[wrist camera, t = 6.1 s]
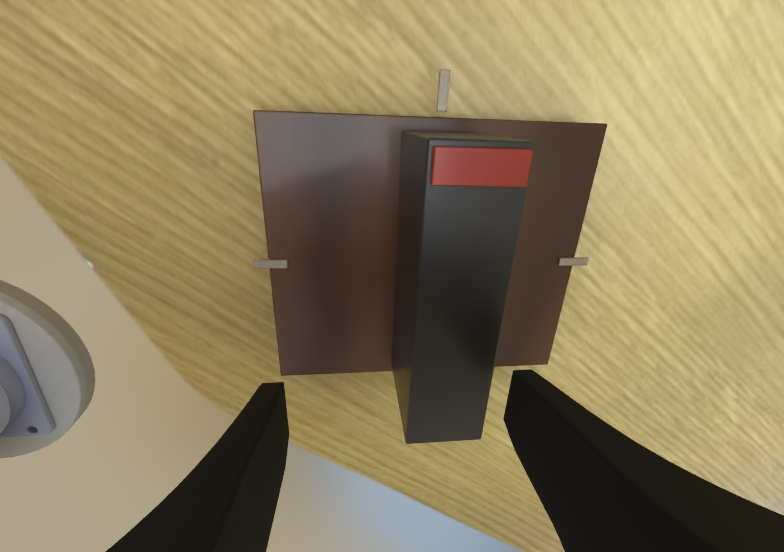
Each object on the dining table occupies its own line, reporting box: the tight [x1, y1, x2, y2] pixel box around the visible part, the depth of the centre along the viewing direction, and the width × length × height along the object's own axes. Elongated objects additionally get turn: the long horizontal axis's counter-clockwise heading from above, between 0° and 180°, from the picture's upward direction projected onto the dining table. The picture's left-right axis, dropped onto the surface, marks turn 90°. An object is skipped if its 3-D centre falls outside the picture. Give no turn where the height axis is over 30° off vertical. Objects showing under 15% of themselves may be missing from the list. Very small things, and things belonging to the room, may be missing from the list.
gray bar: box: [392, 130, 535, 444], centre depth 14 cm, size 11×3×5 cm, turn 178°
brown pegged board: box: [253, 70, 607, 376], centre depth 17 cm, size 15×15×2 cm
